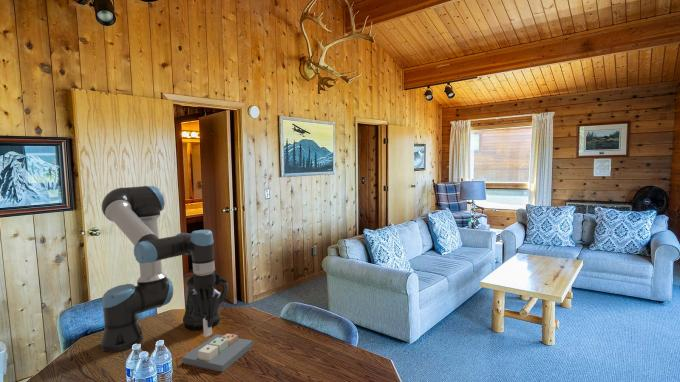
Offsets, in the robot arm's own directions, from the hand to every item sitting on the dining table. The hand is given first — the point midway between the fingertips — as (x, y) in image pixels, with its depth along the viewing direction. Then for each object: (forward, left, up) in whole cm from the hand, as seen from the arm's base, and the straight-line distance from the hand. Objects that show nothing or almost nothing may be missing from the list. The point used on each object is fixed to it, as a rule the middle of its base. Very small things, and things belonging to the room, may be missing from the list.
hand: (208, 335), depth 136 cm
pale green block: (0, +6, -9) cm, 11 cm away
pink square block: (0, +12, -10) cm, 16 cm away
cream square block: (0, 0, -9) cm, 9 cm away
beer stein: (-25, +28, -11) cm, 39 cm away
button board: (0, +6, -11) cm, 12 cm away
